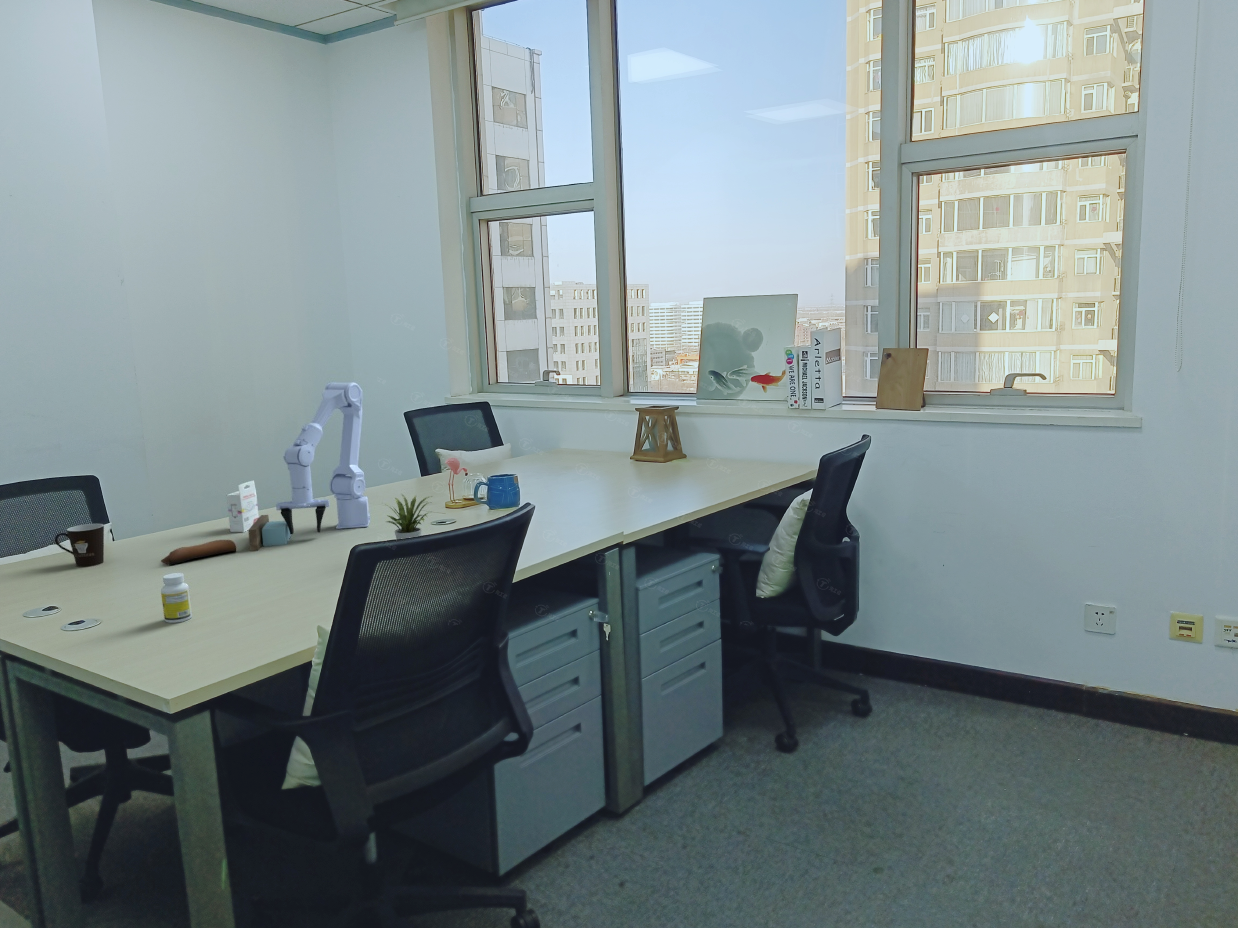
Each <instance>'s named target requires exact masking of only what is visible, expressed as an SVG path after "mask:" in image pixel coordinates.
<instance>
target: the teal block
mask: <svg viewBox="0 0 1238 928" xmlns="http://www.w3.org/2000/svg"><path fill="white" fill-rule="evenodd" d="M291 535H292V534H290V531H289V528H288V526H287V523H286V521H285V520H274V521H269V522H267V523H266V525H265V526H264V527H263V529H262V536H263V544H262V547H270V546H271V545H274V546H285V544H286V545H287V543H288V542H289V540H290V539H291V537H292V536H291ZM289 538H290V539H289ZM287 541H288V542H287ZM271 547H272V546H271Z"/></svg>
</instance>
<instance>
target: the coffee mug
mask: <svg viewBox="0 0 1238 928" xmlns="http://www.w3.org/2000/svg"><path fill="white" fill-rule="evenodd" d="M66 531H67V533H66V532H61V533H58V534H56V535H55V537H54V543H55V544H56V545H57V547H59V548H61V550H63V551H66V552H68V553H70V554H71V555H73V558H74V561H75V565H76V567H80V568H88V567H93V566H99V565H101V564H104V557H105V556H104V551H105V549H104V548H105V547H104V546H105V545H104V544H105V543H104V541H105V539H104V537H105V525H104V524H103V523H88V524H86V523H85V524H80V525H75V526H72V527H71V526H70V527H69V528H67V529H66ZM60 536H65V537H66V538H68V540H69V542H70V547H71V550H70V549H68V548H66V547H64V546H62V544H61V543H59V541H58V539H59V537H60Z"/></svg>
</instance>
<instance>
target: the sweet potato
mask: <svg viewBox="0 0 1238 928" xmlns="http://www.w3.org/2000/svg"><path fill="white" fill-rule="evenodd" d="M228 552H229V553H230V552H234V553H237V545H236V543H235V542H234V541H233V540H231V539H216V540H211V541H207V542H204V543H201V544H197V545H196V544H195V545H191V546H181V547H178V548H176V549H174V550H172V551H170V552H169V554H168V555H167V556H165V557H164V558H162V559H161V560H160V562H162V563H164V564H166V565H167V566H172V565H175V564H181V563H182V562H187V561H191V560H194V559H196V558H197V559H198V558H204V557H208V556H209V557H210V556H212V555H213V556H215V555H219V554H223V553H228Z"/></svg>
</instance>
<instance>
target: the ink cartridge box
mask: <svg viewBox="0 0 1238 928" xmlns="http://www.w3.org/2000/svg"><path fill="white" fill-rule="evenodd" d="M248 486H249V487H248ZM245 487H247V488H245ZM237 488H238V491H234V492H231V493H229V494H226V497H225V498H226V504H227V511H228V521H229V522H228V523H229V530H230V533H246V532H248V531H247V530H249V529H250V528H251V526H252V525H253V524H254V523H255V522H256V521H257V519H258V518H259V517H260V516H259V507H258V497H257V489H256V484H255V480H249V481H247V482H243V483H241V484H238V486H237ZM245 531H246V532H245Z"/></svg>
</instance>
